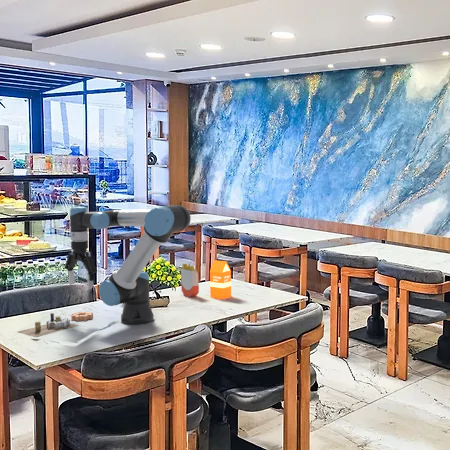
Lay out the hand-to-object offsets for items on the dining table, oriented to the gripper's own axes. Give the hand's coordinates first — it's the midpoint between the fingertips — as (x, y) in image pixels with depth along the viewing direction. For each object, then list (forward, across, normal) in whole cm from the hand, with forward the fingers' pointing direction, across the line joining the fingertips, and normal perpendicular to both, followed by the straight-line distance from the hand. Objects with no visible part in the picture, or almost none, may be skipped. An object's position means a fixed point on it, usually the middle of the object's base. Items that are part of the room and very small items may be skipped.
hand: (81, 286), depth 267 cm
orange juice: (+17, +22, +77) cm, 82 cm away
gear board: (+17, +2, -20) cm, 26 cm away
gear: (+15, +2, -15) cm, 21 cm away
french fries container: (+17, +6, +70) cm, 72 cm away
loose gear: (+17, 0, 0) cm, 17 cm away
